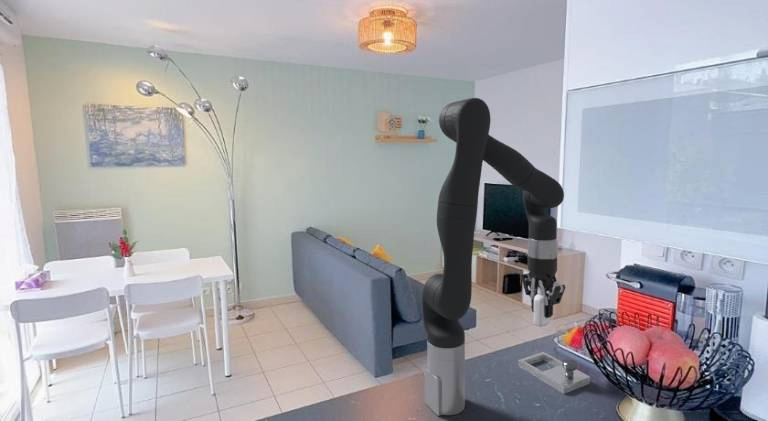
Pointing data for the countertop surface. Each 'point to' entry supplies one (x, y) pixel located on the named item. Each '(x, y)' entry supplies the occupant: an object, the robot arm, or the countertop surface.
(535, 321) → the eye dropper bottle
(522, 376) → the countertop surface
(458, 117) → the robot arm
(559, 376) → the bolt plate
